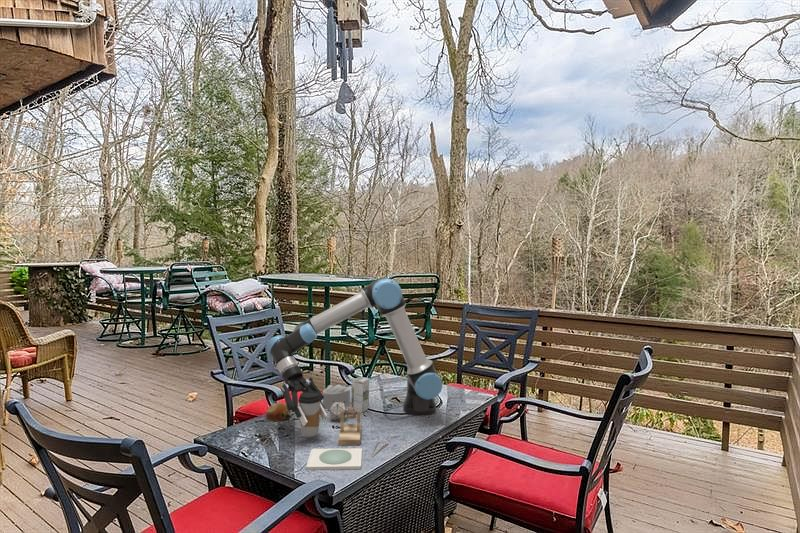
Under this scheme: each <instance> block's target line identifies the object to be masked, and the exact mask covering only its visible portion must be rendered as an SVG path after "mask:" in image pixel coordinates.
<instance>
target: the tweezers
mask: <svg viewBox="0 0 800 533" xmlns="http://www.w3.org/2000/svg"><path fill="white" fill-rule="evenodd" d="M381 442H382V441H376V443H375V445H374V448H373V449H372V453H371V455H370V457H369V460H370V461H371V460H372V459H373V458H374V457H375V456H376V455H377V454H378V453H379V452H380V451H382V449H384V448H385V447H387V446H388V445H389V442H385V443H384V444H383V445H381V446H380V448H379V449H378V450H377V451H376V449H377V447H378V445H379V444H381ZM378 443H379V444H378ZM386 445H387V446H386ZM383 447H384V448H383ZM375 451H376V452H375Z"/></svg>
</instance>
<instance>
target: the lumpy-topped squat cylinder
mask: <svg viewBox="0 0 800 533" xmlns="http://www.w3.org/2000/svg"><path fill="white" fill-rule="evenodd" d="M322 395H323V396H324V398H323V399H322V404H323V406H324V410H330V408H331V406H332V405H333V403H334V402H344V401H345V406H346V407H348V406H350V405H351V389H350V388H349V387H347V386H345V385H341V384H336V385H332V384H329V385H327V387H326V388H324V389H323V391H322ZM333 401H334V402H333Z"/></svg>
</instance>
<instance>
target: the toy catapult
mask: <svg viewBox="0 0 800 533" xmlns="http://www.w3.org/2000/svg"><path fill="white" fill-rule="evenodd" d="M344 415H345V416H346V418H347V419H350V420H354V419H356V423H345V417H344ZM339 421H340V426H339V427H340V430H339V434H338V439H337V440H338V441H337V445H338V446H361V445H360V444H361V435H362V423H361V413H360V410H357V411H355V409H354V408H353V407H352V406H351V407H349V408H348V409H347V411H344V410H341V420H339Z"/></svg>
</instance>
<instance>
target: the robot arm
mask: <svg viewBox="0 0 800 533" xmlns="http://www.w3.org/2000/svg"><path fill="white" fill-rule="evenodd" d="M406 306H407V303H406V301H405V297H404V296H403V292H402V287H401V286H400V285H399V283H398V282H397V281H395V280H394V279H391V278H388V277H378V278H377V279H375V280H373V281H372V282H371V283H370V284H367V285H366V286H365V287H363V288H361V289H360V292H358V293H356V294H354V295H353V296H350V297H348V298H346V299H345V300H343V301H341V302H339V303H337V304H335V305H334V306H332V307H330V308H328V309H325V310H324V311H322V312H320V313H318V314H316V315H314V316H313V317H311V318H309V319H307V320H306V321H302V322H300V323H297V324H296V326H295V327H294V330H293V332H291V333H290V334H288V335H286V336H284V335H281V334H279V335H278V334H277V335H276V336H272V337H271V338H270V339H269V340H267V343H266V344H267V348H268V351H269V354H270V355H271V357H272V359H273V361H274V363H275V366H276V368H277V370H278V371H279V374H280V375H281V378H282V380H283V382H284V383H285V384H283V385H282V386H281V387H280V390H281V393H282V395H283V397H284V398H283V399H284V401H285V404H286V406H287V409H288V410H289V411H291V412H292V413H294V415H295V416H296V418H297V419H298V420H299V422H300V421H301V423H302V425H303V426H305V425H306V423H307V422H308V421H307V419H306V417H305V415H304V413H303V411H302V409H301V407H300V406H299V397H298V393H299V392H301V393H304V392H310V391H314V392H318V393H319V394H320V396H321V401H320V417H321V420H323V421H324V420H325V419H326V417H327V416H328V414H327V413H326V409H324V406H323V398H324V396H323V392H321V390H320V389H319V388H318V387H317V385H316V384H315V383H314V380H313V378H312V377H310V378H309V379H308V378H307V379H306V378H305V377H304V376H303V372H302V370H301V367H300V366H299V363H298V362H297V360H296V358H295V356H294V354H295V353H297V352H298V351H300V350H301V349H303V348H304V347H305V346H308V345H309V344H311V343H312V342H314V341H315V340H316V339H317V338H318V334H321V333H322V332H324V331H326V330H328V329H330V328H331V327H334V326H336V325H337V324H339V323H341V322H343V321H346V320H347V319H349V318H351V317H353V316H355V315H356V314H358V313H361V312H363V311H364V310H366V309H368V308H370V309H372V308H374V307H376V308H377V309H378V312H379V314H380V316H382V317H385V319H386V321H387V323H388V325H389V327H390V330H391V332H392V334H393V337H394V339H395V341H396V343H397V345H398V347H399V349H400V352H401V355H402V357H403V358H404V361H405V363H406V365H407V366H406V368H407V371H406V374H407V375H406V376H407V378H406V380H407V381H406V384H407V385H406V386H407V387H406V388H407V389H406V391H407V392H406V395H405V399H404V402H403V404H402V410H403V412H404V413H406V414H408V415H413V416H431V415H433V414H435V413H436V412H437V404H436V401H435V398H437V397H438V396H439V395H440V393H441V392H442V388H443V382H442V381H443V380H442V378H441V376H440V375H439V374H438V372H437V370H436V368H435V366H434V362H433V360H431V359H428V358H427V356H426V353H425V352H424V350H423V348H422V346H421V343H420V341H419V339H418V338H419V337H418V336H417V334H416V331H415V329H414V326H413V325H412V323H411V320H410V318H409V316H408V314H407V311H406V309H405V307H406ZM432 413H433V414H432ZM301 423H300V424H301Z"/></svg>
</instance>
